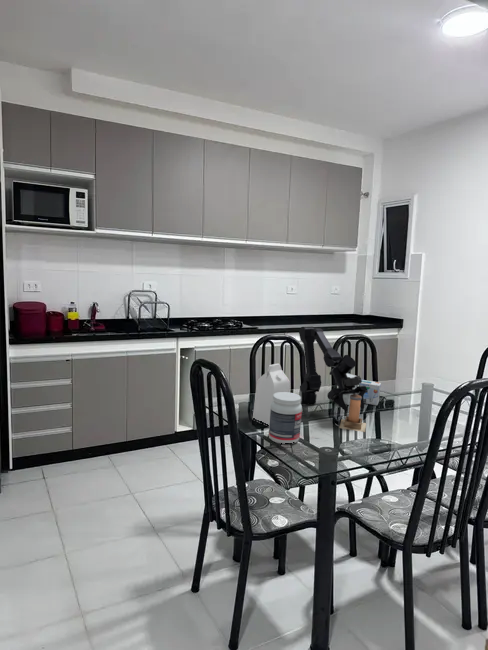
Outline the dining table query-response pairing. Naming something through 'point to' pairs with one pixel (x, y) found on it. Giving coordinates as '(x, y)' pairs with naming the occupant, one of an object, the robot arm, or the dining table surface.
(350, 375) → the skincare box
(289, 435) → the supplement tub
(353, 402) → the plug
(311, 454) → the dining table surface
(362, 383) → the light bulb box
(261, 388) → the milk
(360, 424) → the square wooden holder
